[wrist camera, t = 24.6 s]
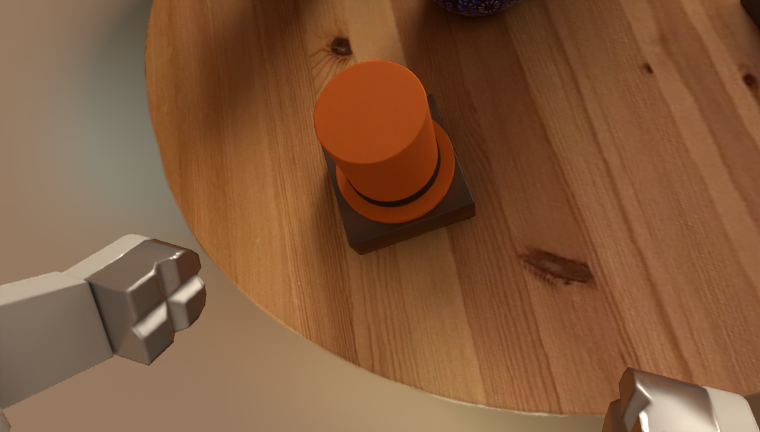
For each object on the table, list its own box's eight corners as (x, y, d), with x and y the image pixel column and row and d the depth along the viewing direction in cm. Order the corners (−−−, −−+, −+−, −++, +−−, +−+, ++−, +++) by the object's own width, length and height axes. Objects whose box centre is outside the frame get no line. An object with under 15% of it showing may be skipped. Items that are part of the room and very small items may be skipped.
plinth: (475, 215, 33) (475, 202, 31) (360, 255, 34) (349, 246, 32) (436, 113, 36) (432, 93, 34) (331, 152, 37) (318, 136, 35)
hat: (472, 199, 31) (468, 149, 23) (355, 240, 32) (315, 204, 24) (432, 97, 34) (418, 23, 26) (326, 137, 34) (282, 76, 27)
